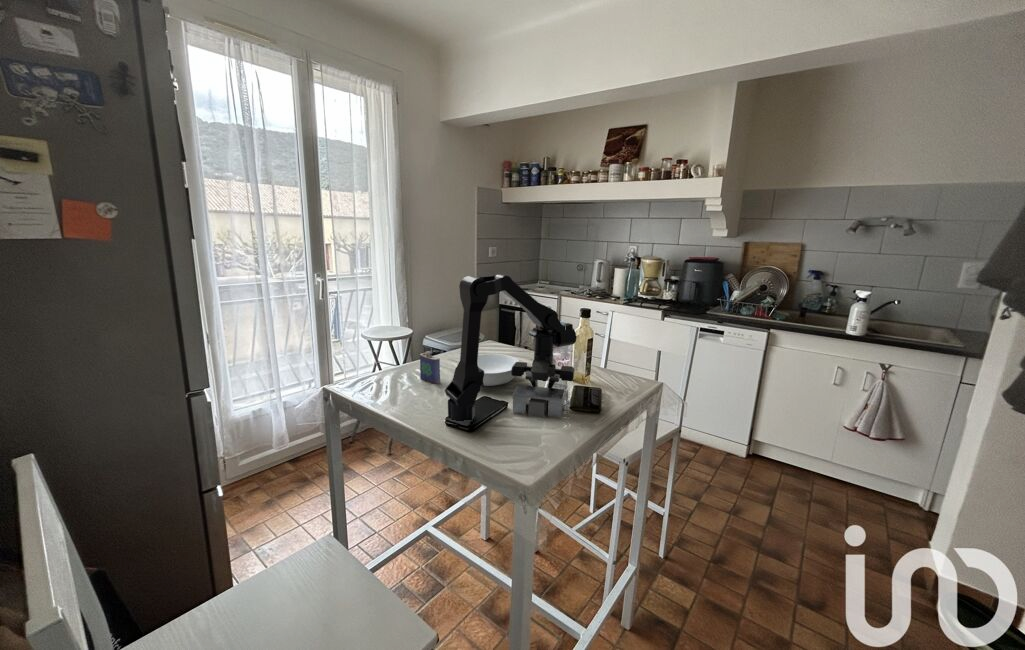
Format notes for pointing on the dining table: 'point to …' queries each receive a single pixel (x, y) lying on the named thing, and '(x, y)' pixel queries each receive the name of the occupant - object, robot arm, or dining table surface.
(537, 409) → the plug
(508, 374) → the serving bowl
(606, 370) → the dining table surface
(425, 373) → the flask
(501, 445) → the dining table surface
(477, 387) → the robot arm
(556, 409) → the grey arch block
